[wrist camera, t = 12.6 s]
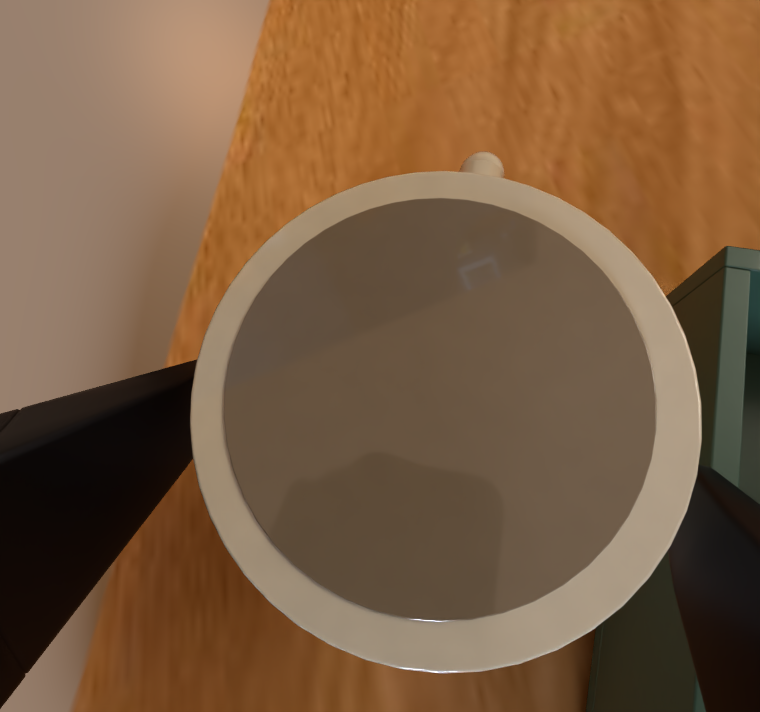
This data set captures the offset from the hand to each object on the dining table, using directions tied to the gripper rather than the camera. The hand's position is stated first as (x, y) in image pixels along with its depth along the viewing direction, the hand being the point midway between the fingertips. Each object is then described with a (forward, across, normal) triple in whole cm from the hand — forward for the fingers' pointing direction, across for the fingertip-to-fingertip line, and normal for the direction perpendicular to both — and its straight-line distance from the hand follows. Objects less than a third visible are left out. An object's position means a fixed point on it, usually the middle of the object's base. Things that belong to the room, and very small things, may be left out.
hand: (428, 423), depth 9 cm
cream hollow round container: (+6, 0, +4) cm, 8 cm away
